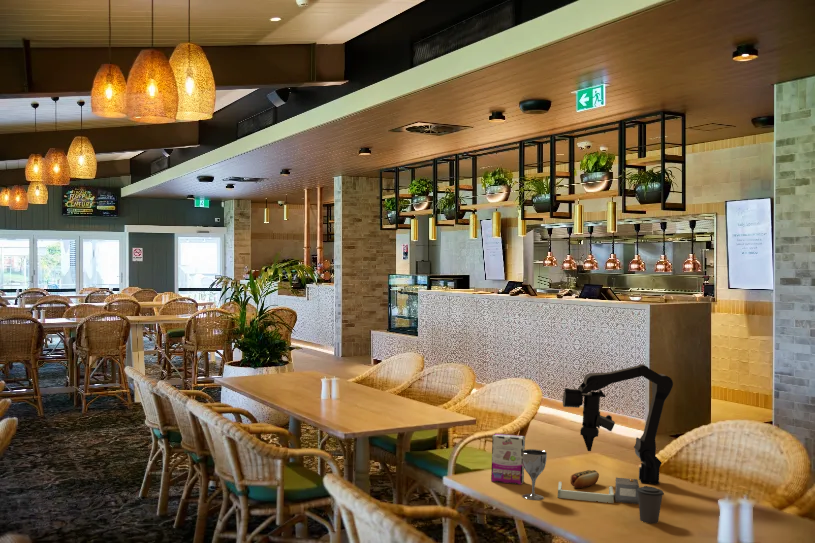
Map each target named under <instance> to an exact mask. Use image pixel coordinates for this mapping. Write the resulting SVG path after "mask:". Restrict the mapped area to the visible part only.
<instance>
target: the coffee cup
mask: <svg viewBox="0 0 815 543" xmlns="http://www.w3.org/2000/svg"><path fill="white" fill-rule="evenodd" d="M637 492H638V499H639V504H638V510H639V512H638V513H639V521H641V522H642V521H643V522H642V523H645V522H646V523H645V524H659V519H660V518H659V517H660V513H661V506H662V502H663V501H662V499H663V496H664V495H665V493H664V491H663V490H662V489H659V488H658V487H654V486H648V485H644V486H641V487H640V486H639V488H638V489H637Z"/></svg>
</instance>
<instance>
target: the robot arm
mask: <svg viewBox="0 0 815 543" xmlns="http://www.w3.org/2000/svg"><path fill="white" fill-rule="evenodd" d="M641 377H643V378H645V379H646V380H647V381H650V382H651V394H652V397H651V401H650V402H651V403H650V404H649V408H648V413H647V417H646V422H645V425H644V429H643V434H642V435H641V437H638V436H637V437H636V439H635V445H634V446H633V448H634V452H635V455H636V456H637V457H638V459H639V460H640V466H639V467H638V480H640V483H642V484H651V485H660V484H661V483H660V468H661V466H662V464H663V462H662V461H661V460H660V459H659V458H658V457H657V456H656V455H657V454H656V451H657V443H656V437H657V433H658V429H659V425H660V422H661V416H662V412H663V410H664V409H663V408H664V404H665V401H666V400H667V399H668V397H669V395H671V394H670V393H671V391H672V389H673V387H674V381H673V379H672V378H671V377H670V376H667V375H666V374H663V373H658V372H656V371H654V370H653V369H650V368H649V367H648V366H647V365H645V364H642V363H641V364H638V365H635V366H630V367H625V368H622V369H618V370H614V371H609V372H590V373H586V374H585V376H584V378H583V381H582V383H581V384H580V385H579V386H578V388H577V389H576V388H567V387H565V388H564V389H563V390H564V391H563V395H562V406H563V408H575V409H577V408H578V409H579V408H580V407H581V406H583V409H582V422H581V423H582V426H581V428H580V429H579V430H580V433H579V434H580V436H582V438H583V440H584V441H583V442H584V444H585V446H586V449H587V451H588V452H592V448H593V444H594V439H595V438H597V437H599V435H600V434H599V433H600V431H599V430H600V428H601V427H602V428H603V429H605V430H607V431H609V432H612V431H613V429H614V426H615V424H616V422H615V420H613V418H612V415H610V414H607V415H606V416H605V415H604V416H603V415H602V414H601V411H600V403H601V402H600V401H601V398H606V397H607V396H606V394H605V393H604V392H603V390H602V389H605V388H606V387H608V386H609V385H611V384H614V383H615V384H616V383H619V382H622V381H628V380H632V379H636V378H641Z"/></svg>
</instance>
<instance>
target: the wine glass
mask: <svg viewBox="0 0 815 543" xmlns="http://www.w3.org/2000/svg"><path fill="white" fill-rule="evenodd" d="M547 455H548V453H547V451H545V450H541V449H534V448H529V449H525V450H523V466H524V471H525V472H526V473H527V474H528V476H529V477H530V480H531V492H530V493H525V494H522V496H521V497H522V498H523V499H525V500H530V501H541V500H544V498H545V497H544V496H543V495H541V494H538V493H536V492H535V486H536V480H538V477H539V476H540V475H541V473H543V472H544V470H545V467H546V463H547Z"/></svg>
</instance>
